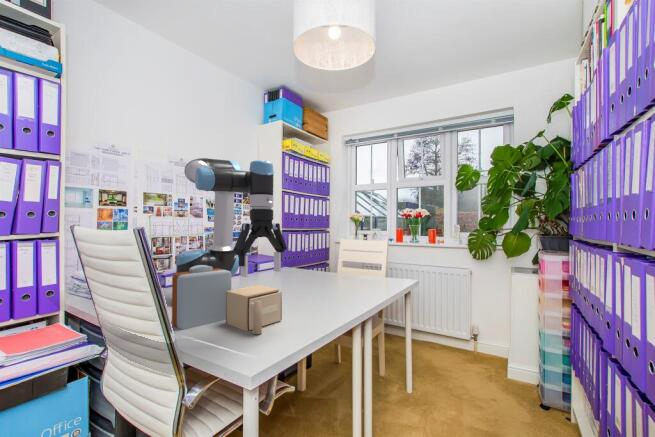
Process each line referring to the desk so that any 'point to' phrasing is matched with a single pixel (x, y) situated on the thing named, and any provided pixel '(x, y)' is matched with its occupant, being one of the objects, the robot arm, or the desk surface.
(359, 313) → the desk surface
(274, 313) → the flap
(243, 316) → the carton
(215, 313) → the grey rounded slab
